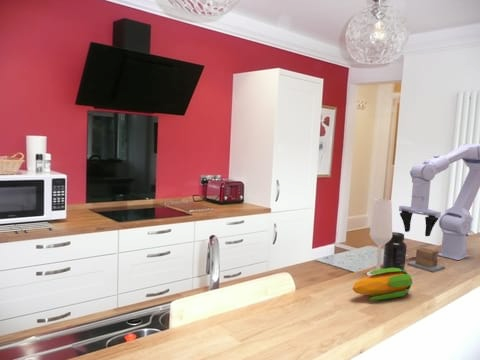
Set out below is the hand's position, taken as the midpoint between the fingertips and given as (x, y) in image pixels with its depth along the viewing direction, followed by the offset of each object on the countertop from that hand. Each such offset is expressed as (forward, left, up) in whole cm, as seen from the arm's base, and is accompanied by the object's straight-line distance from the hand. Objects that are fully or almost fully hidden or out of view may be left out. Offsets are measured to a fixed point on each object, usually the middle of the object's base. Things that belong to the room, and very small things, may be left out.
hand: (417, 233), depth 140 cm
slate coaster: (+6, +7, -9) cm, 13 cm away
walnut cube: (+6, +7, -9) cm, 13 cm away
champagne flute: (+29, +3, -10) cm, 31 cm away
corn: (+44, +14, -10) cm, 47 cm away
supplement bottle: (+18, +2, -10) cm, 20 cm away
